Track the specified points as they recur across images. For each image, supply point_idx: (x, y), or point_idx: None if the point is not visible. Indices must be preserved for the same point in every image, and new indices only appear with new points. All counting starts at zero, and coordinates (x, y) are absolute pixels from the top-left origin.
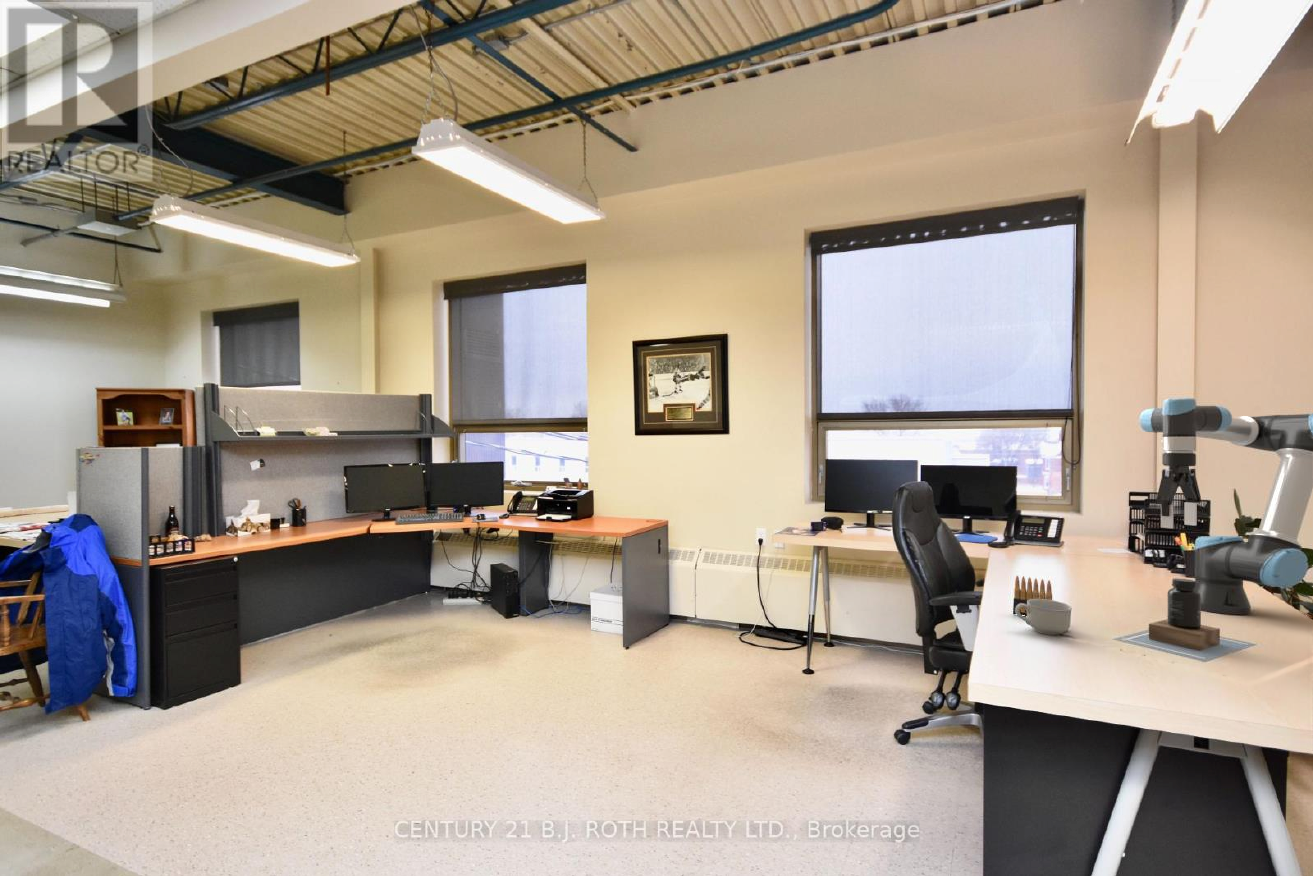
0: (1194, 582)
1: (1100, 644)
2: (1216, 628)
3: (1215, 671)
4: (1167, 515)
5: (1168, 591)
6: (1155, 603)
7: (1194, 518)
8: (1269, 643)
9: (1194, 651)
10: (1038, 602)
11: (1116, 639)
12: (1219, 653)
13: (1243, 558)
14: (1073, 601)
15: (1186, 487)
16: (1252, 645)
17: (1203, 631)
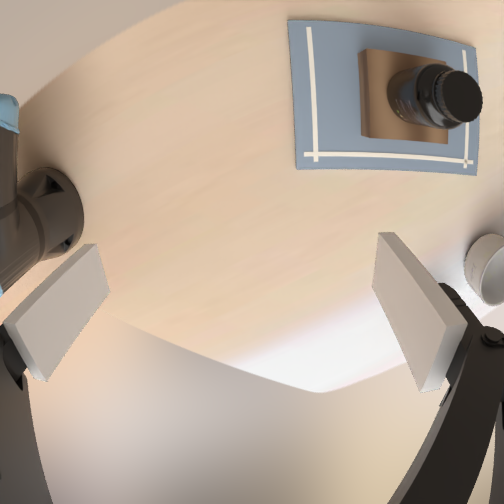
0: (463, 71)
1: (489, 181)
2: (370, 52)
3: (479, 35)
4: (448, 286)
5: (459, 125)
6: (111, 280)
7: (76, 268)
8: (222, 27)
9: None
10: (485, 299)
11: (474, 171)
12: (417, 40)
13: None
14: (241, 348)
15: (20, 480)
16: (306, 20)
17: (417, 61)
